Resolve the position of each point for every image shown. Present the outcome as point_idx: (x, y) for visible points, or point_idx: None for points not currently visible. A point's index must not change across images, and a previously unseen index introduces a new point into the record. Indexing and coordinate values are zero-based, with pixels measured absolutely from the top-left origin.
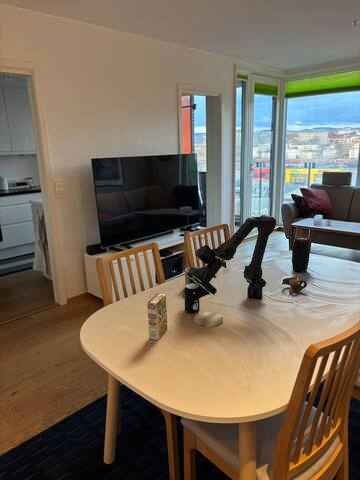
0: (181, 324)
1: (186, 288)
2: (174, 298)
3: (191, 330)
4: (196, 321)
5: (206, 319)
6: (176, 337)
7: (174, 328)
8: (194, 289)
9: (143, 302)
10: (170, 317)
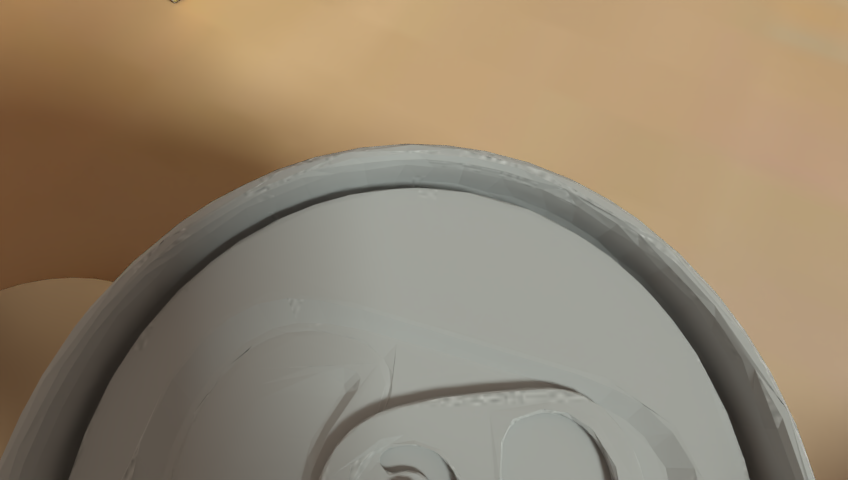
0: (181, 144)
1: (385, 181)
2: (836, 365)
3: (3, 171)
4: (74, 287)
5: None
6: (6, 11)
7: (157, 61)
8: (63, 468)
9: (801, 43)
10: (380, 119)
